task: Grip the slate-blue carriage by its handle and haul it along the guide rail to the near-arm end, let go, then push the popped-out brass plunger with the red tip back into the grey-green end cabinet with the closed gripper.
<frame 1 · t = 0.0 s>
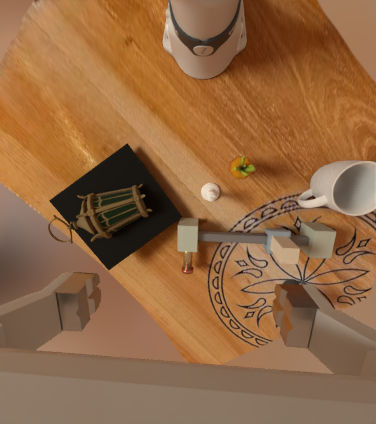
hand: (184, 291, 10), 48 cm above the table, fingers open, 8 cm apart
mug: (319, 183, 54), on the table
lantern: (118, 209, 60), on the table
carriage: (281, 245, 50), point 9 cm above the table, slide at 0.0 cm
guide rail: (248, 232, 59), on the table
carrot: (234, 165, 55), on the table
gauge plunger: (187, 254, 57), point 4 cm above the table, slide at 0.0 cm
chess piece: (210, 191, 57), on the table
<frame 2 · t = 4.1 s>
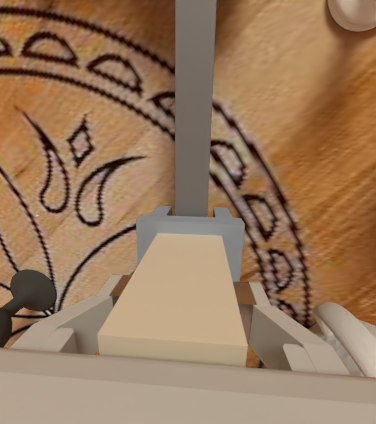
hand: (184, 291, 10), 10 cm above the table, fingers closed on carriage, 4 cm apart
sundae: (35, 289, 22), on the table
mug: (329, 333, 21), on the table
carriage: (186, 278, 11), point 9 cm above the table, slide at 0.0 cm, touching gripper
guide rail: (195, 156, 17), on the table
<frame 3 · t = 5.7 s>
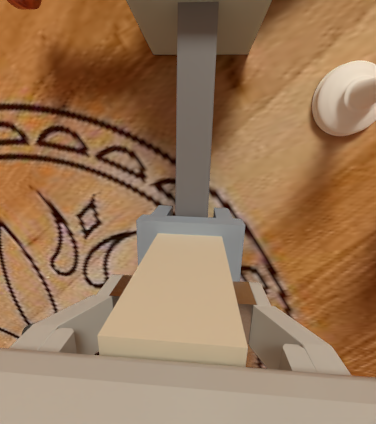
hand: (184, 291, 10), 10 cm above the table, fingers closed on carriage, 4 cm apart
carriage: (186, 279, 11), point 9 cm above the table, slide at 6.7 cm, touching gripper
guide rail: (193, 232, 19), on the table
chess piece: (344, 101, 16), on the table
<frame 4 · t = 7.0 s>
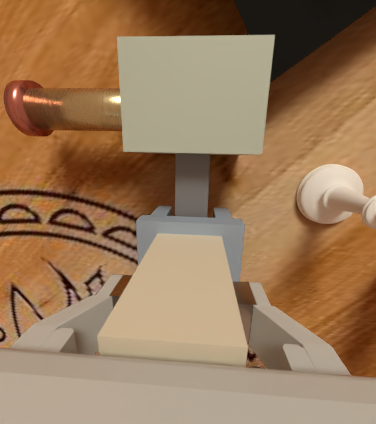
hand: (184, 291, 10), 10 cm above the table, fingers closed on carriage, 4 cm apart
carriage: (186, 279, 11), point 9 cm above the table, slide at 13.8 cm, touching gripper
guide rail: (191, 299, 21), on the table
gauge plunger: (101, 110, 13), point 4 cm above the table, slide at 0.0 cm
chess piece: (325, 194, 18), on the table
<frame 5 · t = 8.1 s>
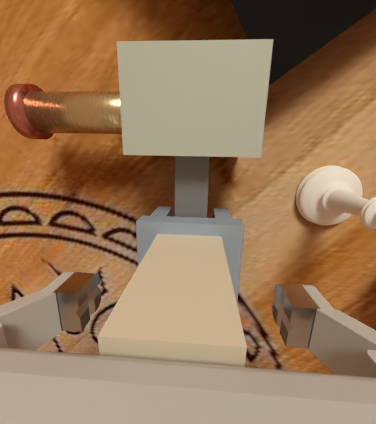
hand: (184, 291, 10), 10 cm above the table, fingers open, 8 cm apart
carriage: (186, 279, 11), point 9 cm above the table, slide at 13.9 cm
guide rail: (191, 300, 21), on the table
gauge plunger: (101, 113, 13), point 4 cm above the table, slide at 0.0 cm
chess piece: (324, 195, 18), on the table
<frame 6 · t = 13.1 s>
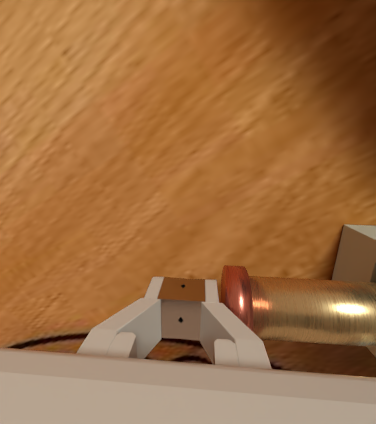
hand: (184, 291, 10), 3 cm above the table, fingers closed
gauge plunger: (344, 311, 9), point 4 cm above the table, slide at 0.4 cm, touching gripper
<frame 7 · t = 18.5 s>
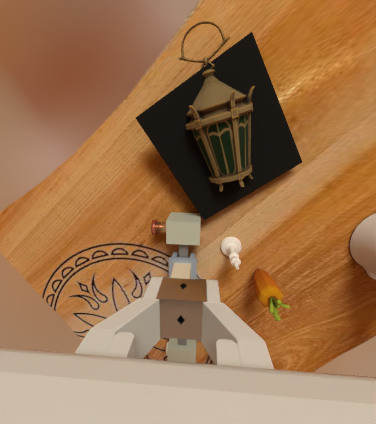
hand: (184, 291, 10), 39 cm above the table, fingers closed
lantern: (214, 131, 45), on the table
carriage: (181, 274, 44), point 9 cm above the table, slide at 13.9 cm
guide rail: (184, 283, 54), on the table
carrot: (257, 269, 52), on the table
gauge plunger: (175, 228, 46), point 4 cm above the table, slide at 3.9 cm
chess piece: (230, 245, 51), on the table
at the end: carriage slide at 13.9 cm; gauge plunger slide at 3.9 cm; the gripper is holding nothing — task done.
